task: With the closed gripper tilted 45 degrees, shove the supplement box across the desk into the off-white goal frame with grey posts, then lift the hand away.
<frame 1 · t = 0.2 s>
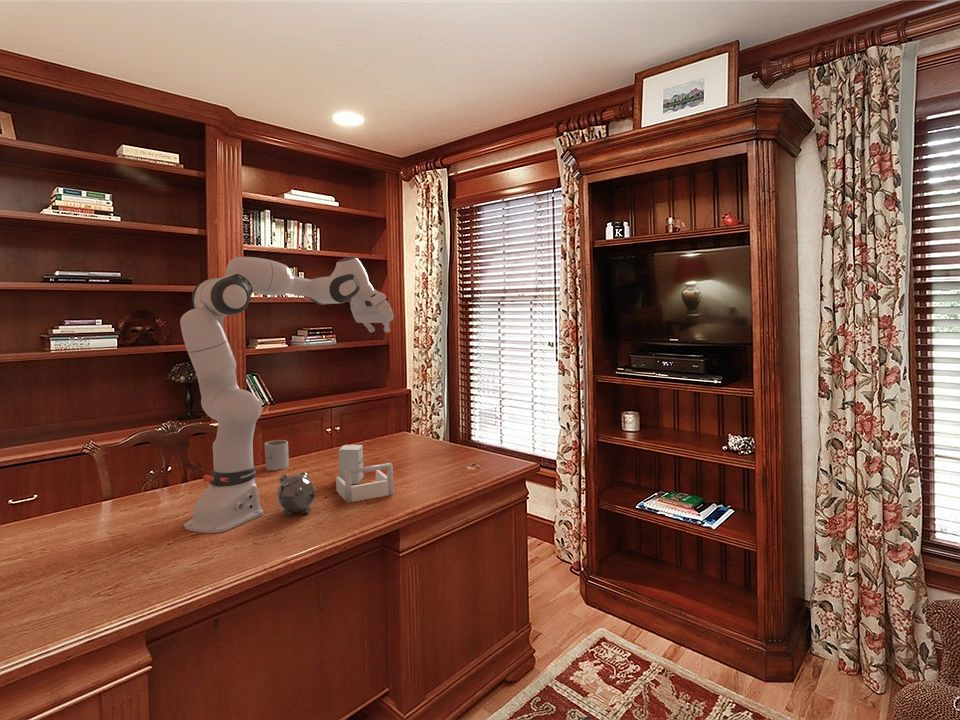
hand: (380, 331, 200), 54 cm above the table, tool tilted 30°, fingers open, 8 cm apart
printed ceramic cup: (276, 466, 212), on the table
supplement box: (351, 481, 194), on the table
piggy bank: (296, 512, 164), on the table
goal frame: (363, 492, 182), on the table
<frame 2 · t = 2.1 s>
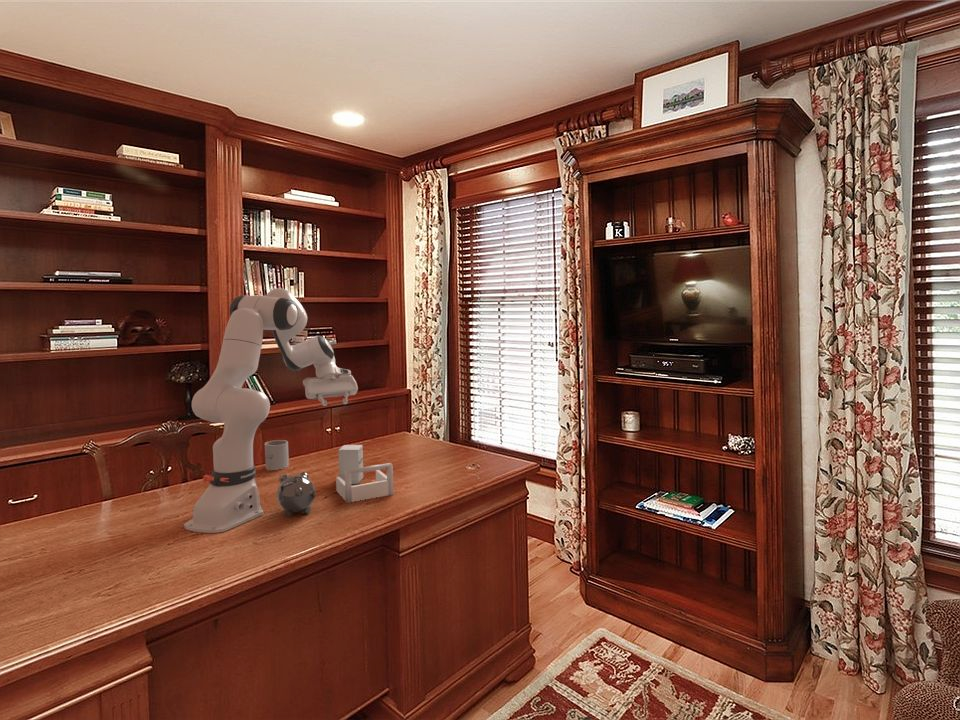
hand: (335, 404, 207), 25 cm above the table, tool tilted 45°, fingers open, 7 cm apart
nothing on the table moved.
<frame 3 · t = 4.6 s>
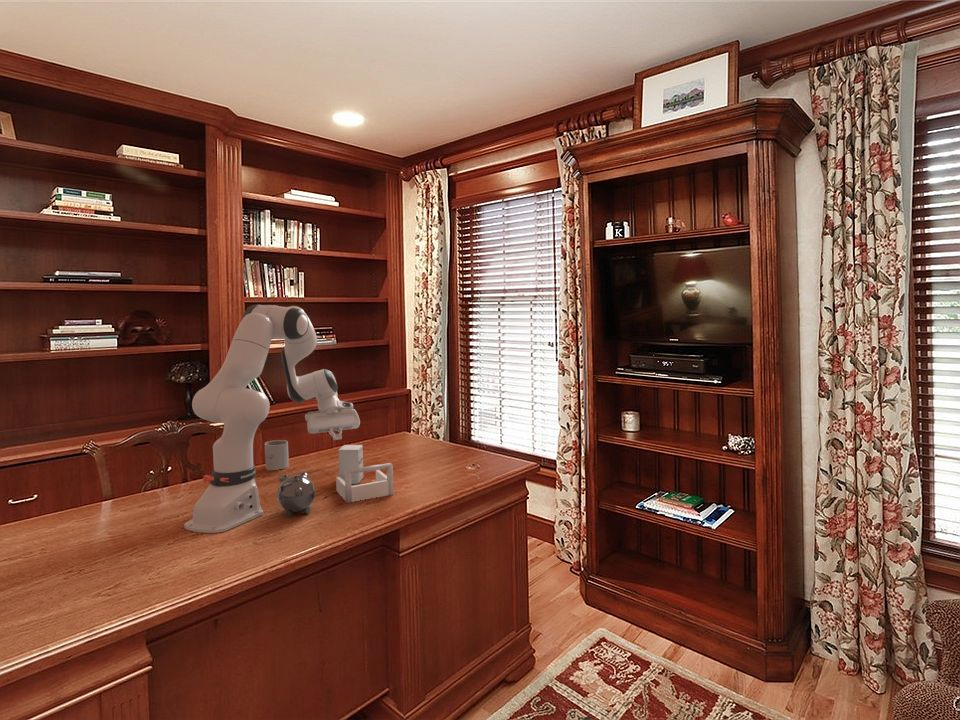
hand: (337, 438, 206), 12 cm above the table, tool tilted 45°, fingers closed
nothing on the table moved.
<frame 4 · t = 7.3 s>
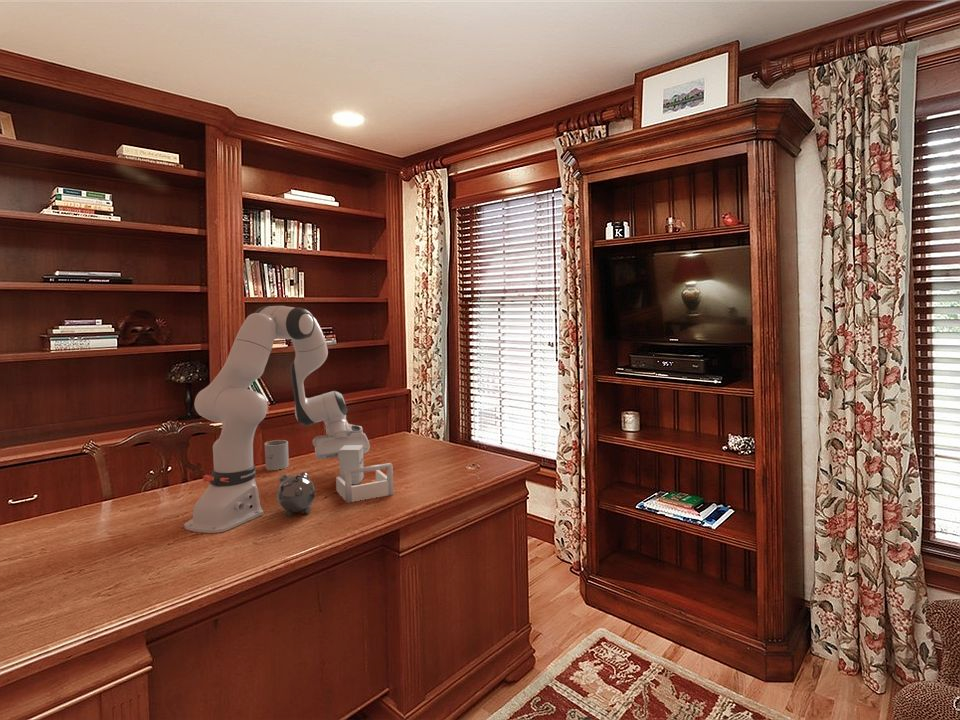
hand: (347, 464, 197), 5 cm above the table, tool tilted 45°, fingers closed
supplement box: (352, 481, 193), on the table, touching gripper
everything else where it was.
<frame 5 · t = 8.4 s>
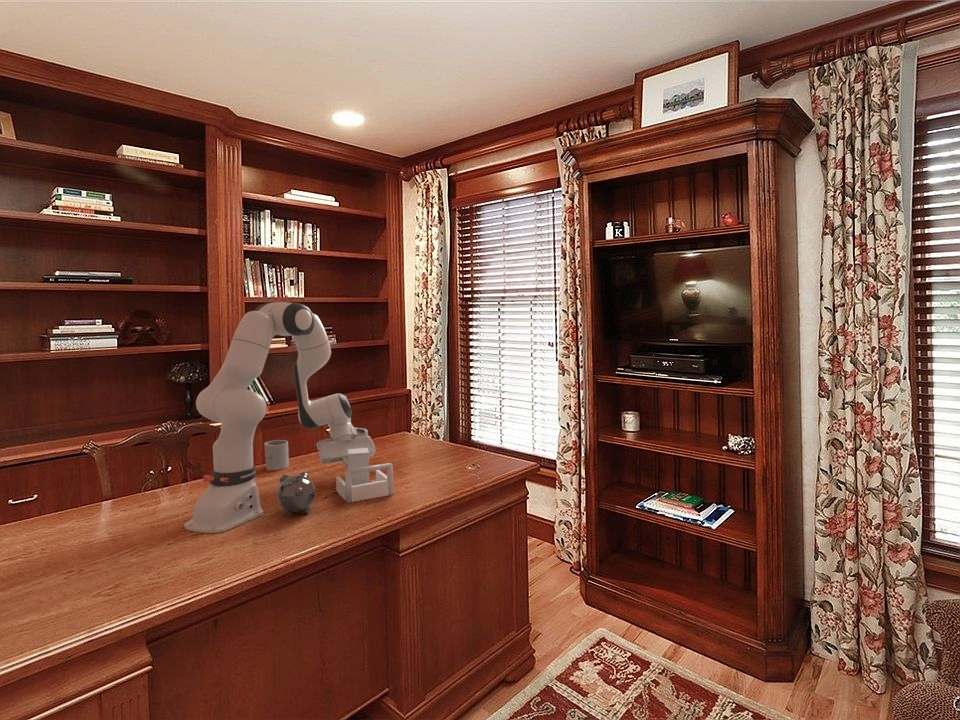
hand: (352, 469, 192), 5 cm above the table, tool tilted 45°, fingers closed
supplement box: (358, 486, 188), on the table, touching gripper
everything else where it was.
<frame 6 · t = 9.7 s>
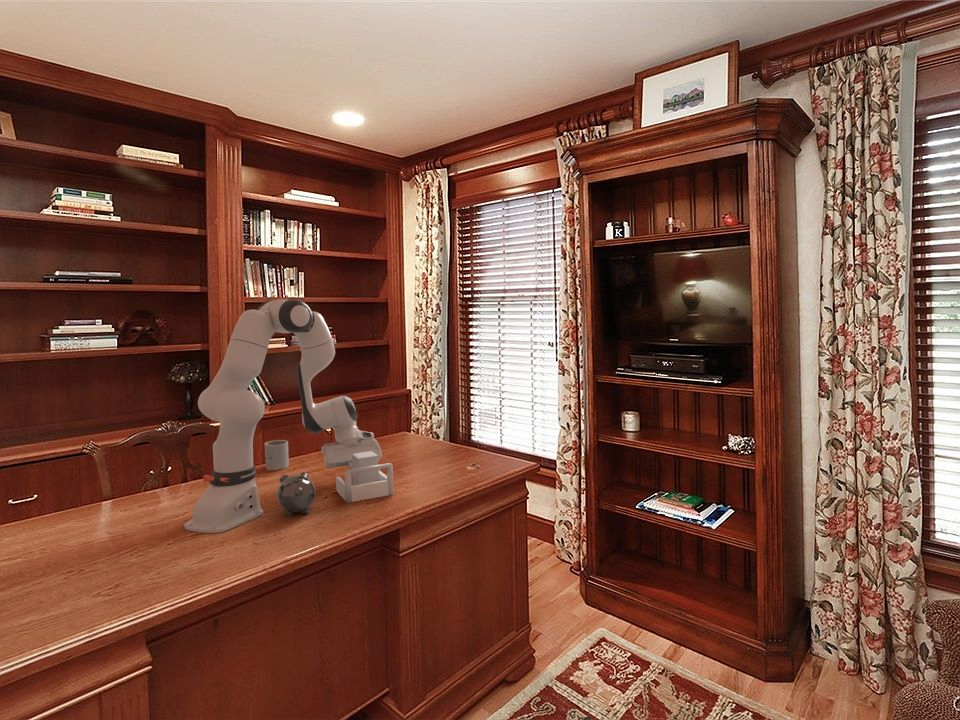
hand: (358, 473, 186), 5 cm above the table, tool tilted 45°, fingers closed, pressing on supplement box
supplement box: (365, 490, 184), on the table, touching gripper
everything else where it was.
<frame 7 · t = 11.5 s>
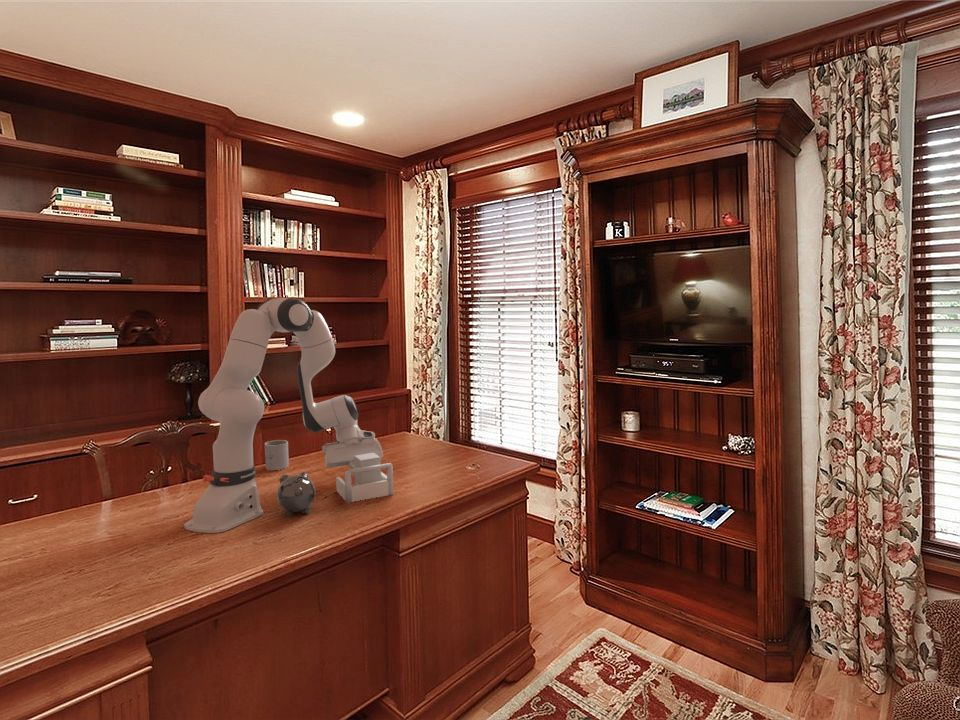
hand: (358, 473, 185), 5 cm above the table, tool tilted 45°, fingers closed
supplement box: (368, 492, 182), on the table
everything else where it was.
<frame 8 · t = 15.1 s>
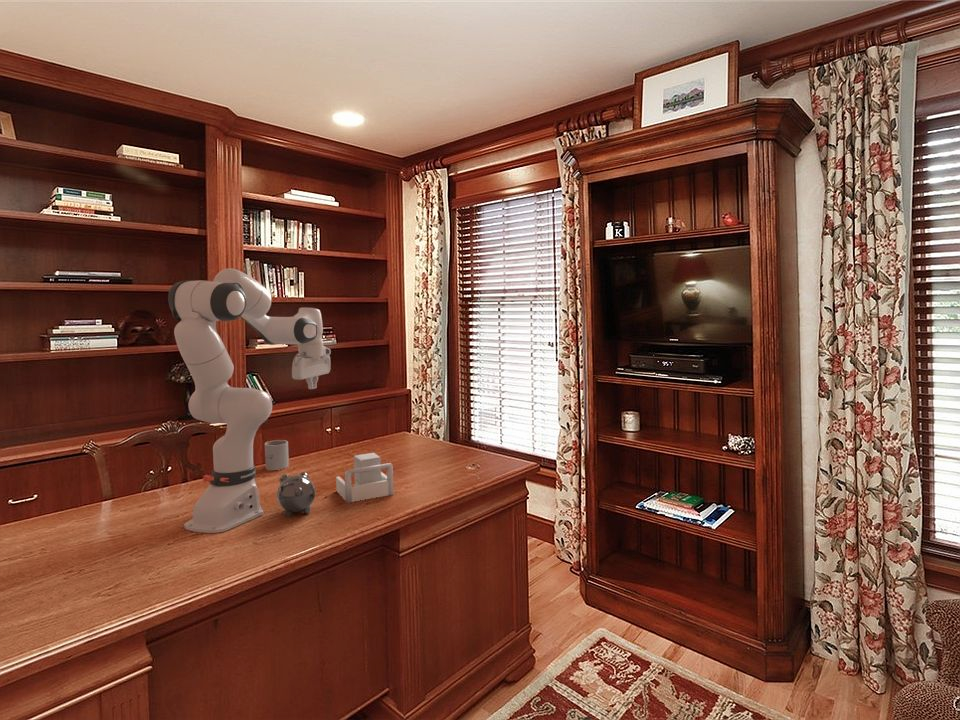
hand: (312, 388, 196), 33 cm above the table, tool pointing down, fingers closed
nothing on the table moved.
at the end: supplement box 1.5 cm from the goal frame (horizontally); supplement box tilted 0°; supplement box moved 14.7 cm from its start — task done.
